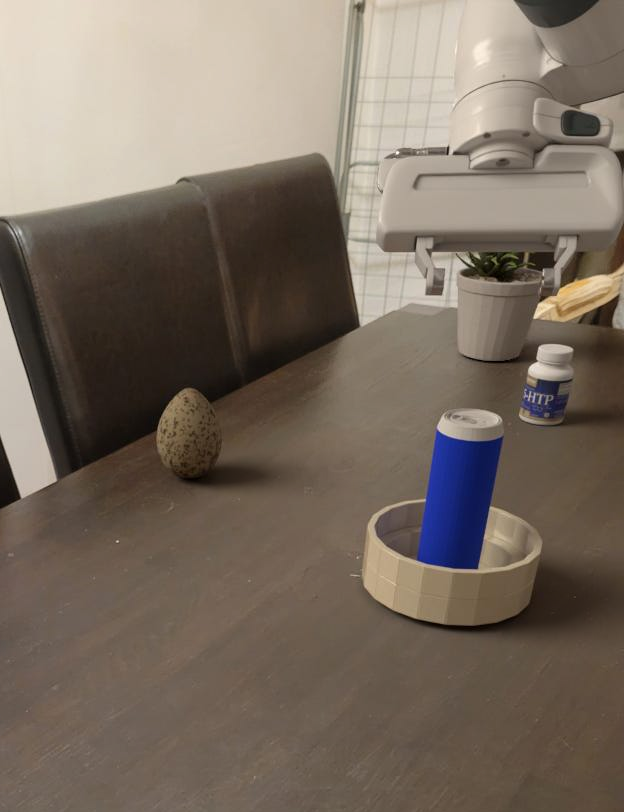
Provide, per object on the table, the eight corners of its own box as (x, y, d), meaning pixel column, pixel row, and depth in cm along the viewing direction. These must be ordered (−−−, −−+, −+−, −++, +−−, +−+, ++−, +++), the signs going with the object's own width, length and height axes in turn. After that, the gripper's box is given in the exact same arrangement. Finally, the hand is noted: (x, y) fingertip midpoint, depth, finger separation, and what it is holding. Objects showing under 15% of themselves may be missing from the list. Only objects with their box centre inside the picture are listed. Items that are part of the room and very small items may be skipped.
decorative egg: (232, 482, 105) (235, 392, 100) (174, 493, 103) (173, 403, 97) (202, 460, 111) (204, 374, 105) (146, 470, 108) (145, 383, 103)
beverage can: (482, 578, 85) (514, 414, 76) (463, 603, 81) (495, 433, 73) (426, 564, 87) (451, 403, 79) (404, 587, 83) (429, 421, 75)
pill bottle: (510, 419, 120) (524, 348, 116) (532, 409, 123) (546, 339, 119) (549, 429, 117) (565, 356, 112) (571, 419, 120) (587, 348, 115)
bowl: (509, 554, 90) (520, 500, 87) (547, 635, 78) (562, 575, 75) (355, 550, 91) (361, 496, 88) (369, 628, 79) (377, 569, 76)
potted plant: (509, 340, 151) (535, 201, 140) (546, 365, 139) (577, 216, 128) (431, 342, 150) (451, 204, 139) (461, 368, 139) (485, 219, 128)
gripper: (381, 125, 83) (369, 273, 82) (634, 118, 79) (627, 273, 77) (377, 171, 90) (366, 309, 88) (612, 166, 85) (606, 311, 83)
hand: (490, 292), depth 82 cm, fingers open, 8 cm apart
